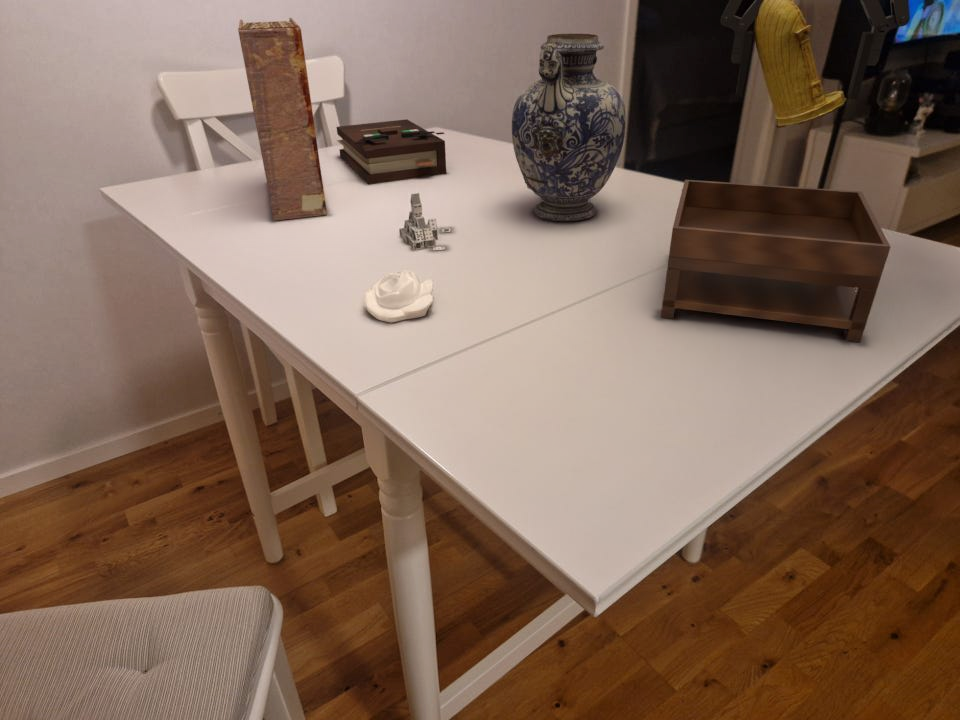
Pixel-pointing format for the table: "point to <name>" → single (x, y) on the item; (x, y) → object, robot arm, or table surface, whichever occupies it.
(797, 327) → the table surface
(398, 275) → the rose
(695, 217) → the brown wooden open box
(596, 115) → the decorative vase
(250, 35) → the book
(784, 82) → the shrine
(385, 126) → the decorative book
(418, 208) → the house of cards
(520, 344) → the table surface
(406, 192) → the table surface
